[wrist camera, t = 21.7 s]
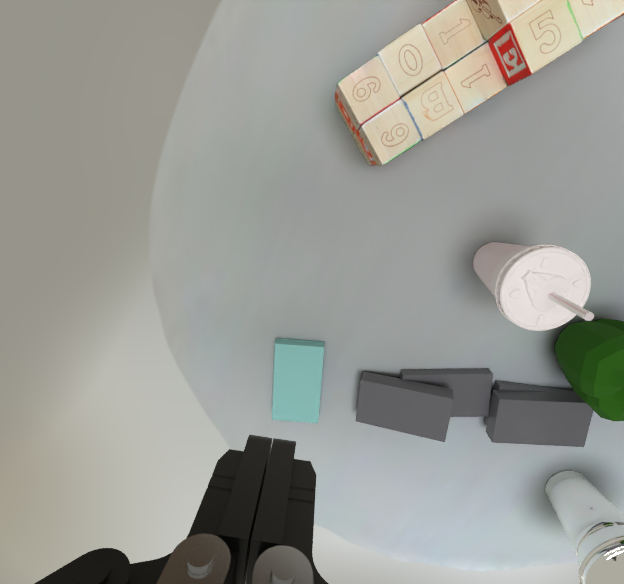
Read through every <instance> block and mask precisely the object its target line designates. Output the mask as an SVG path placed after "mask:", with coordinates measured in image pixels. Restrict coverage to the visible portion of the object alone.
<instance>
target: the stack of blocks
mask: <svg viewBox="0 0 624 584" xmlns="http://www.w3.org/2000/svg"><path fill="white" fill-rule="evenodd" d="M623 15H624V0H455V1H454V2H452V3H451V4H450V5H448V6H447V7H445V8H444V9H442V10H441V11H439V12H438V13H437V14H435V15H434V16H432V17H431V18H429V19H428V20H426V21H425V22H424V23H422V24H418V25H416V26H415V27H413V28H412V29H410V30H409V31H407V32H406V33H404V34H403V35H401V36H400V37H399V38H397V39H396V40H394V41H393V42H392V43H390V44H389V45H387V46H386V47H384V48H383V49H382V50H380V51H379V52H378V53H377V55H376V56H375V57H374V58H372V59H371V60H369V61H368V62H366V63H365V64H364V65H362V66H361V67H359V68H358V69H356V70H355V71H353V72H352V73H351V74H349V75H348V76H346V77H345V78H343V79H342V80H340V81H339V82H338V83H337V91H336V92H335V105H336V107H337V109H338V111H339V112H340V114H341V116H342V118H343V120H344V122H345V123H346V125H347V127H348V129H349V131H350V132H351V134H352V136H353V138H354V140H355V142H356V144H357V146H358V148H359V149H360V151H361V153H362V155H363V156H364V158H365V160H366V161H367V163H368V164H369V165H378V166H382V165H385V164H386V163H388V162H389V161H391V160H392V159H394V158H396V157H397V156H399V155H400V154H402V153H403V152H405V151H406V150H408V149H410V148H411V147H413V146H414V145H416V144H417V143H419V142H420V141H422V140H424V139H426V138H428V137H430V136H431V135H433V134H434V133H436V132H437V131H439V130H440V129H442V128H444V127H445V126H447V125H448V124H450V123H451V122H453V121H455V120H456V119H458V118H459V117H461V116H462V115H464V114H466V113H467V112H469V111H471V110H472V109H474V108H475V107H477V106H478V105H480V104H482V103H483V102H485V101H486V100H487V99H489V98H491V97H492V96H494V95H495V94H497V93H498V92H500V91H501V90H503V89H504V88H505V87H507V86H510V85H512V84H514V83H516V82H518V81H520V80H522V79H524V78H526V77H528V76H530V75H531V74H533V73H535V72H536V71H538V70H539V69H541V68H542V67H544V66H546V65H547V64H549V63H550V62H552V61H553V60H555V59H556V58H558V57H559V56H561V55H562V54H564V53H566V52H567V51H569V50H570V49H572V48H573V47H575V46H576V45H578V44H579V43H581V42H582V40H583V39H584V38H586V37H588V36H589V35H591V34H592V33H594V32H595V31H597V30H599V29H600V28H602V27H603V26H605V25H607V24H608V23H610V22H612V21H614V20H616V19H618V18H619V17H621V16H623Z"/></svg>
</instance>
